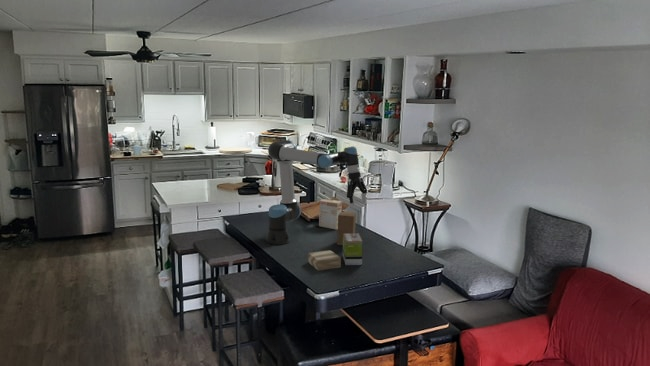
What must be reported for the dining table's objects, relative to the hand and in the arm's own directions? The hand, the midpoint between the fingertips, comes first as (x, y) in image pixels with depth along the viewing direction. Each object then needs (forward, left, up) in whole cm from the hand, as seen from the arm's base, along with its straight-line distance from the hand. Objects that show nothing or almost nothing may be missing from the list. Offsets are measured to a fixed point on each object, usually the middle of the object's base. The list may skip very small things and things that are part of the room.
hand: (359, 205), depth 309 cm
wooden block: (-14, -1, -29) cm, 32 cm away
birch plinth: (+16, -31, -29) cm, 45 cm away
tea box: (+16, -13, -29) cm, 35 cm away
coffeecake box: (-52, +6, -29) cm, 60 cm away
